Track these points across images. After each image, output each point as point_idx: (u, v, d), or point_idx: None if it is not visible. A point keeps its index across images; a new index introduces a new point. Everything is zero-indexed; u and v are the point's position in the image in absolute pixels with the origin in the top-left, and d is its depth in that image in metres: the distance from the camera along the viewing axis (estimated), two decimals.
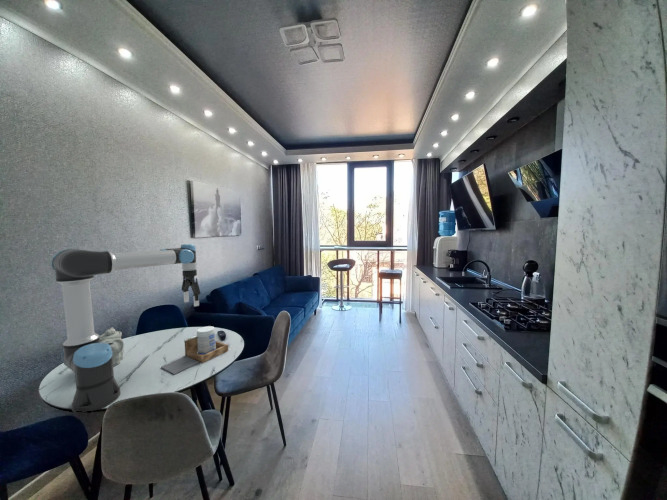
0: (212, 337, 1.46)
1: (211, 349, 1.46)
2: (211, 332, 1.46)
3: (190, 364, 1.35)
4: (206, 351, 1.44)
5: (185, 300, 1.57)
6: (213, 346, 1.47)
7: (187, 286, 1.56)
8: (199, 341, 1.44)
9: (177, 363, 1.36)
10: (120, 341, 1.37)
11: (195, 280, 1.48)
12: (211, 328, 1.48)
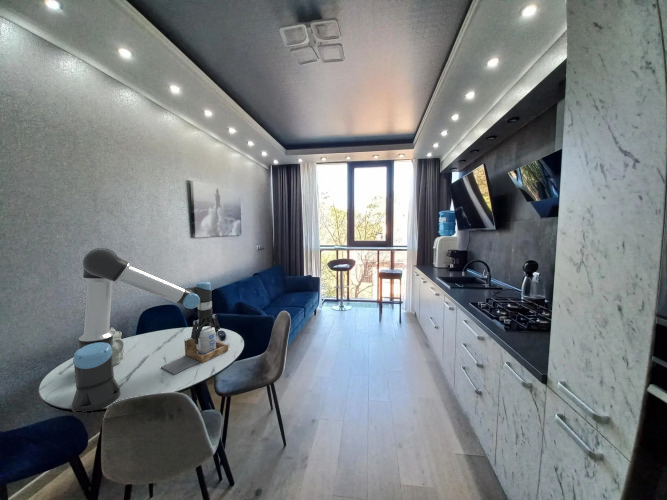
0: (212, 337, 1.46)
1: (211, 349, 1.46)
2: (211, 332, 1.46)
3: (190, 364, 1.35)
4: (206, 351, 1.44)
5: None
6: (213, 346, 1.47)
7: (211, 325, 1.50)
8: None
9: (177, 363, 1.36)
10: (120, 341, 1.37)
11: (194, 323, 1.41)
12: (211, 328, 1.48)
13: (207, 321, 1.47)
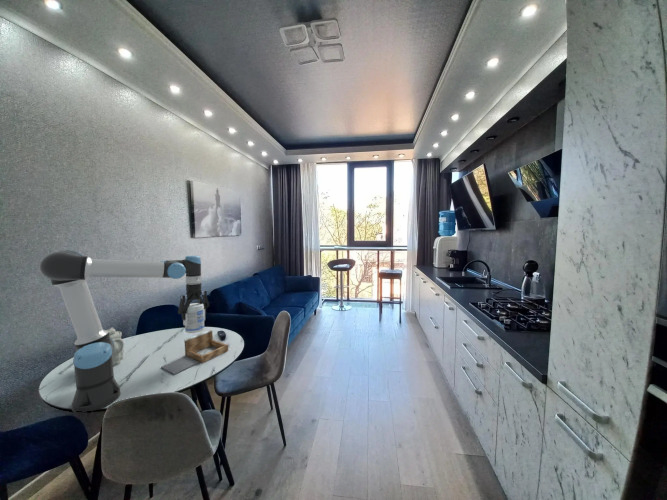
0: (200, 313, 1.40)
1: (199, 326, 1.39)
2: (200, 308, 1.40)
3: (190, 364, 1.35)
4: (193, 327, 1.37)
5: None
6: (201, 323, 1.41)
7: (199, 302, 1.44)
8: None
9: (177, 363, 1.36)
10: (120, 341, 1.37)
11: (181, 297, 1.35)
12: (200, 304, 1.42)
13: (196, 297, 1.41)
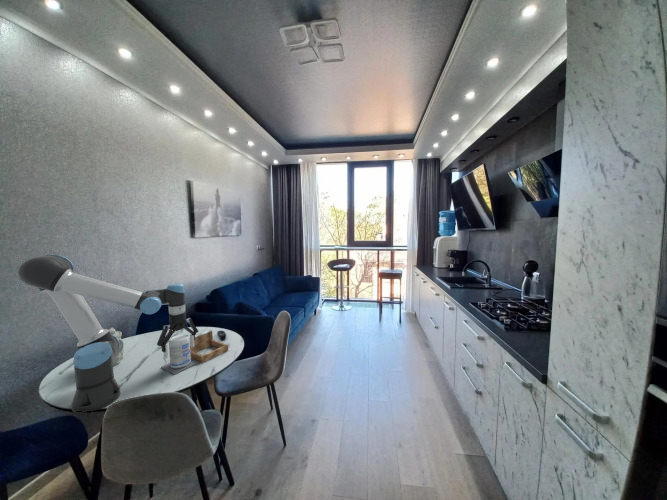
0: (186, 347, 1.33)
1: (184, 360, 1.32)
2: (185, 341, 1.33)
3: (190, 364, 1.35)
4: (179, 362, 1.31)
5: (190, 344, 1.40)
6: (187, 357, 1.34)
7: None
8: (171, 351, 1.30)
9: None
10: (120, 341, 1.37)
11: (164, 328, 1.27)
12: (185, 337, 1.35)
13: (180, 327, 1.33)
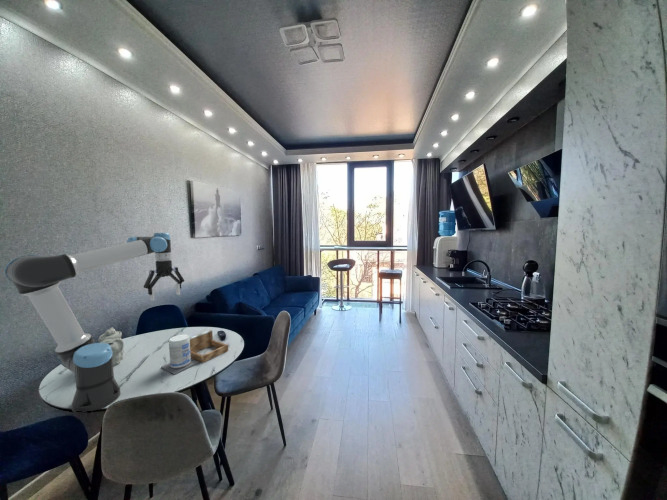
0: (186, 347, 1.33)
1: (185, 360, 1.32)
2: (185, 341, 1.33)
3: (190, 364, 1.35)
4: (179, 362, 1.31)
5: (176, 292, 1.49)
6: (187, 357, 1.34)
7: (172, 278, 1.46)
8: (171, 351, 1.30)
9: None
10: (120, 341, 1.37)
11: (150, 272, 1.36)
12: (185, 337, 1.35)
13: (166, 273, 1.42)
